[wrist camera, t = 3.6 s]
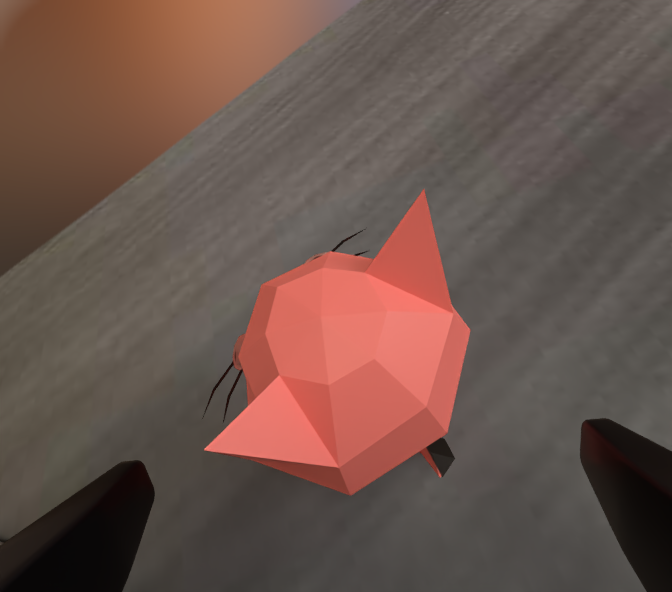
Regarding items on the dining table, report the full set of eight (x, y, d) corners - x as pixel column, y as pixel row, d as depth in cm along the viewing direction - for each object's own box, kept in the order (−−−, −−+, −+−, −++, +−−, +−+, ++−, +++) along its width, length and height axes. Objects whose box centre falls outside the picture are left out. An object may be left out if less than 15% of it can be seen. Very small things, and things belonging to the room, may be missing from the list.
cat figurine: (362, 307, 20) (308, 104, 9) (489, 394, 17) (623, 256, 7) (266, 426, 18) (61, 350, 8) (390, 541, 16) (350, 677, 5)
